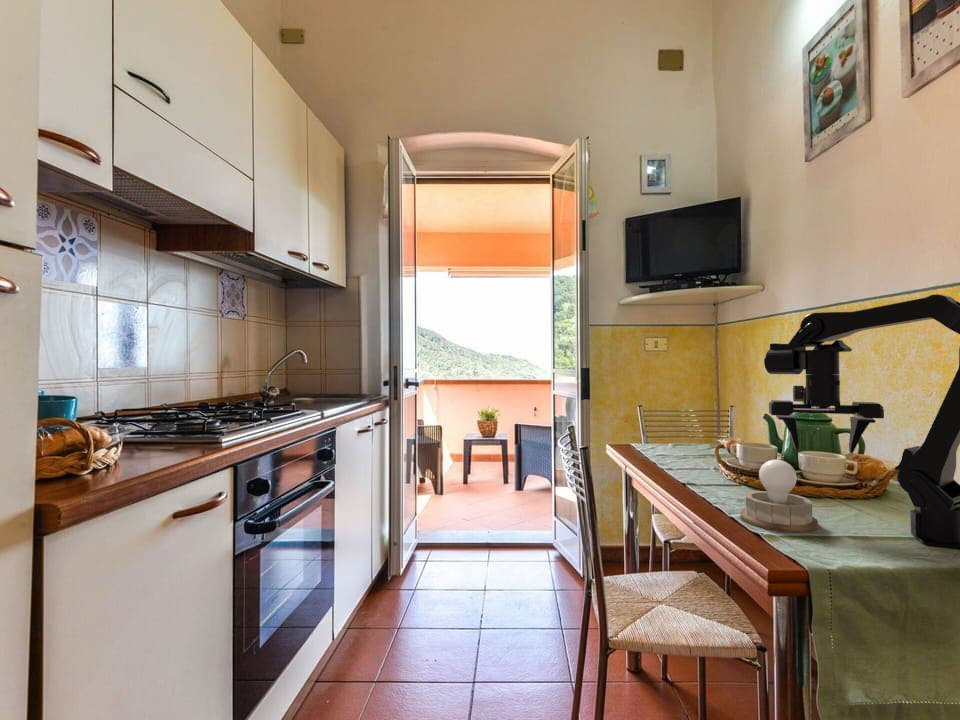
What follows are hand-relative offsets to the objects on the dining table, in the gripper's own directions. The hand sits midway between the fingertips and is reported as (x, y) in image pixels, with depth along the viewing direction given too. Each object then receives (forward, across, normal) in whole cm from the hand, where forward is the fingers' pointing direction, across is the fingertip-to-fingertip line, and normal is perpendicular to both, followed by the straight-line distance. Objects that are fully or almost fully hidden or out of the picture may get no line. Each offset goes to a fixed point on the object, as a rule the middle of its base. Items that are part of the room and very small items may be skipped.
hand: (823, 451), depth 101 cm
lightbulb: (+12, +9, +8) cm, 17 cm away
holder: (+13, +9, +8) cm, 18 cm away
